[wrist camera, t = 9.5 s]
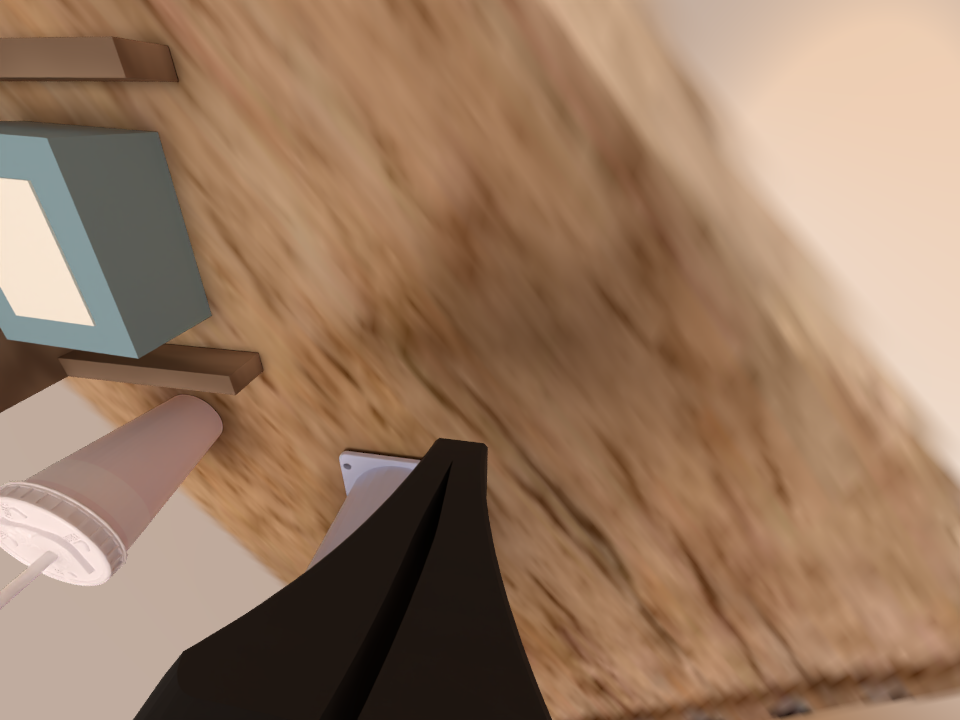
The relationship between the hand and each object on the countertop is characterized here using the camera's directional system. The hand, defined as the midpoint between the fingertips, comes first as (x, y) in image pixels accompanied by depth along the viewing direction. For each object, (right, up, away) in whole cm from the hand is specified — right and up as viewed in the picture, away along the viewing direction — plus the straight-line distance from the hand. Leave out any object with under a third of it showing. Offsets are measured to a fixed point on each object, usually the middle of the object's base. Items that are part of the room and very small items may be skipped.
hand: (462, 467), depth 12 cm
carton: (-18, +10, +10) cm, 22 cm away
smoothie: (-18, -1, +16) cm, 24 cm away
